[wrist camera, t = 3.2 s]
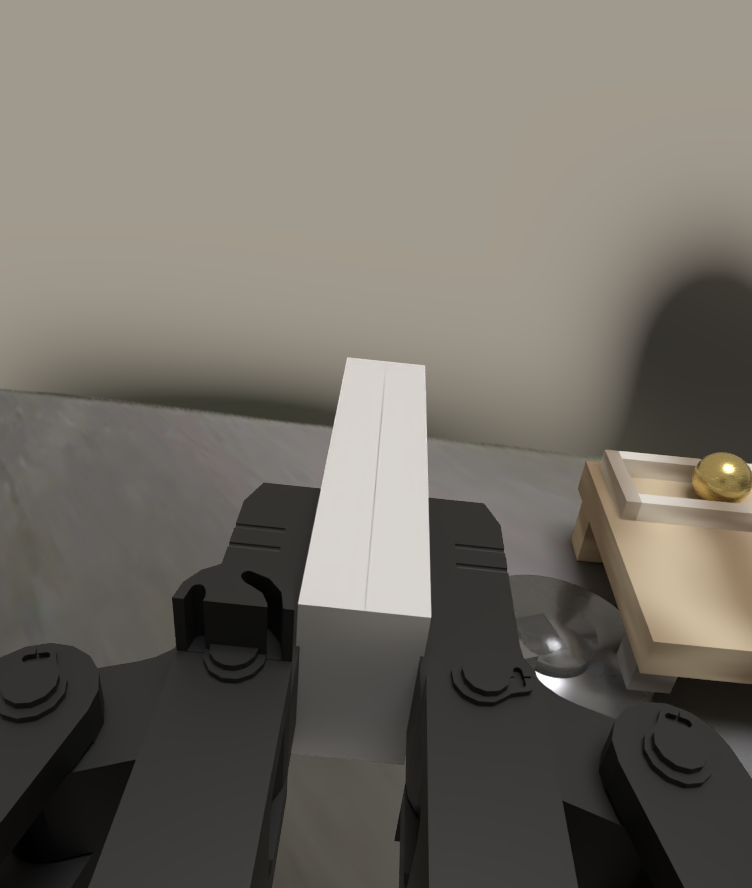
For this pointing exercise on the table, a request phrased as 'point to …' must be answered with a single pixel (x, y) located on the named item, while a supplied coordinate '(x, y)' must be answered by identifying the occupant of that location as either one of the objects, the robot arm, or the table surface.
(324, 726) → the robot arm
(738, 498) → the ball
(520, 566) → the table surface
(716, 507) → the stand
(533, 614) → the silver l-shaped piece
